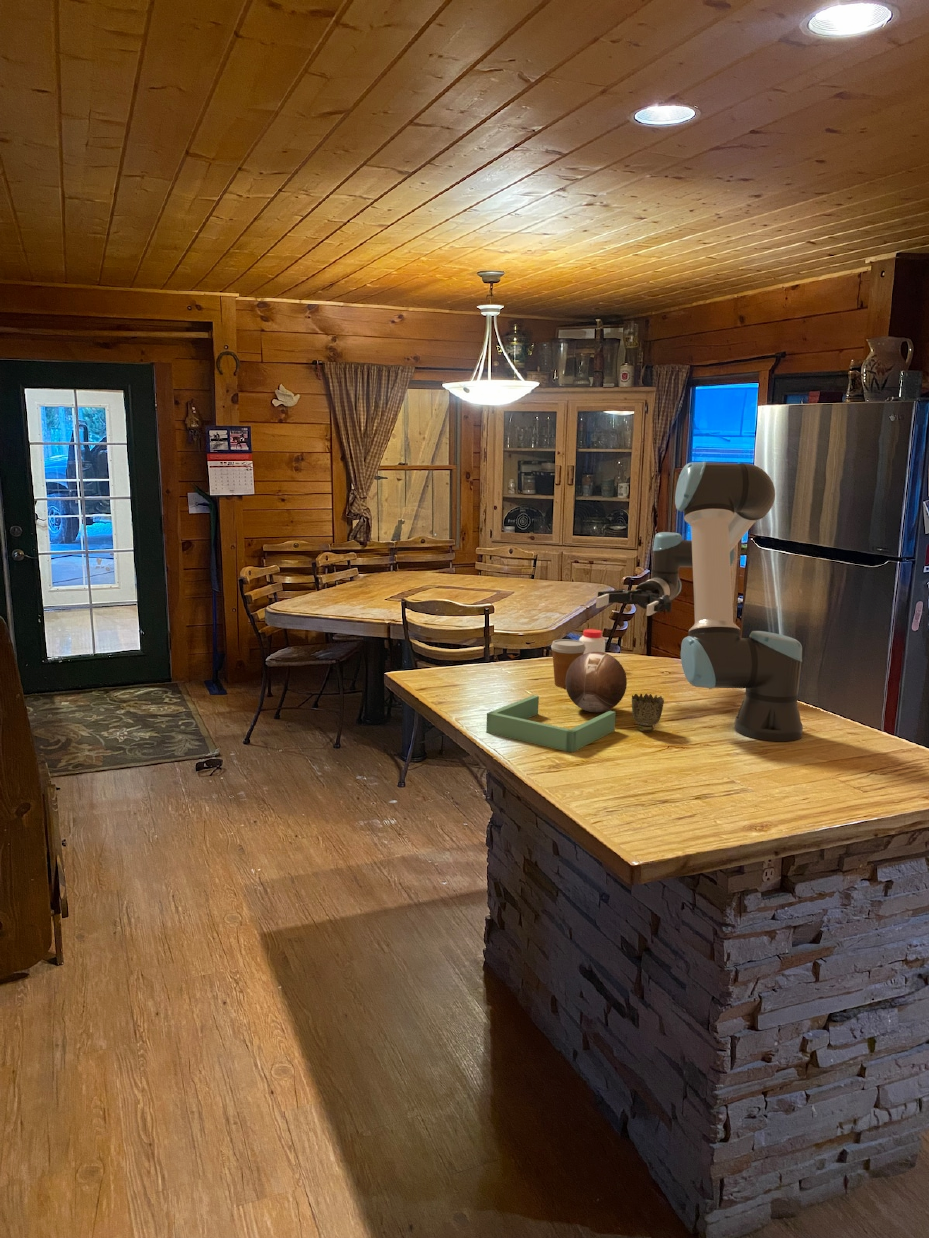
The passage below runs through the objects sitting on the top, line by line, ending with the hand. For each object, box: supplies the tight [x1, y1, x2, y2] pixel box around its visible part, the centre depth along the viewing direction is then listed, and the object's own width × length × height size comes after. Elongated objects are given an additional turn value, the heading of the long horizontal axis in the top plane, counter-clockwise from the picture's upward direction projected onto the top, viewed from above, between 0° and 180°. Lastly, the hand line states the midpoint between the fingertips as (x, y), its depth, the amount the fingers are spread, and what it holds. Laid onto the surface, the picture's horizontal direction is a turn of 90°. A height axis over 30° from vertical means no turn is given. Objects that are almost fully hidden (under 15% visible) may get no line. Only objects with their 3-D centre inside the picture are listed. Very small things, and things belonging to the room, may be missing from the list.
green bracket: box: [485, 695, 617, 753], centre depth 210 cm, size 20×22×4 cm
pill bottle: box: [578, 628, 606, 654], centre depth 274 cm, size 8×8×11 cm
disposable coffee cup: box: [550, 638, 586, 689], centre depth 252 cm, size 10×10×12 cm
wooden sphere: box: [565, 652, 628, 713], centre depth 226 cm, size 15×15×15 cm
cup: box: [631, 693, 665, 733], centre depth 212 cm, size 8×7×8 cm
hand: (622, 606), depth 233 cm, fingers open, 13 cm apart
